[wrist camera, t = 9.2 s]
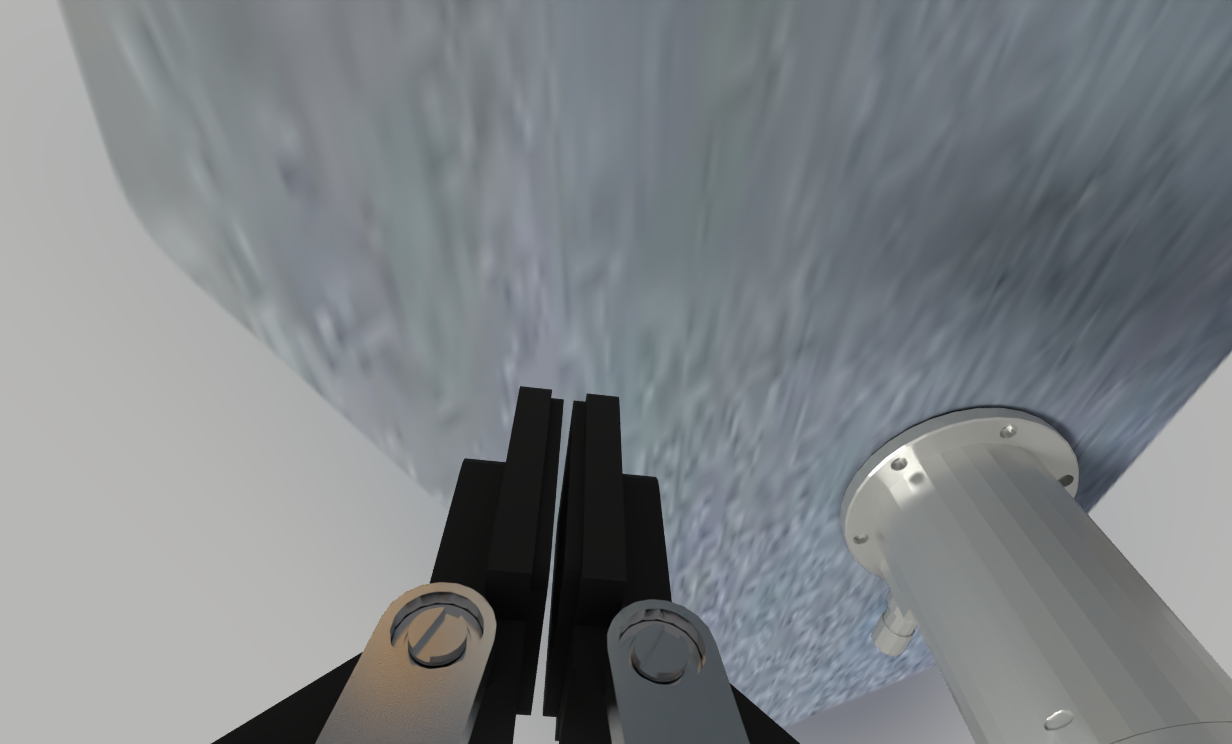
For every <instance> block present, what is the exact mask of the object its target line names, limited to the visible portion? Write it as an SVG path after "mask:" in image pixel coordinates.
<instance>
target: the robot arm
mask: <svg viewBox="0 0 1232 744" xmlns="http://www.w3.org/2000/svg"><path fill="white" fill-rule="evenodd" d="M551 394H552V390H550V389H541V388H532V387H522V386H520V389H519V395H518V400H517V406H516V411H515V416H514V422H513V427H512V433H511V438H510V443H509V449H508V454H507V460H506V462H497V461H486V460H476V459H466V458H465V459H464V461H463V463H462V466H461V470H460V473H459V477H458V481H457V484H456V488H455V492H454V496H453V499H452V503H451V507H450V510H449V514H448V518H447V521H446V525H445V529H444V533H443V536H442V540H441V544H440V548H439V551H438V555H437V558H436V562H435V566H434V569H433V573H432V577H431V581H430V584H426V585H421V586H419V587H416V588H414V589H412V590H410V591H407V592H405V593H404V594H403V595H401V596H400V597H399V598H397V599H396V600H395V601H393V602H392V603H391V604H390V606H389V607H388V608H387V610H386V611H385V612H384V614H383V615H382V617H381V619H380V620H379V622H378V624H377V626H376V628H375V630H374V632H373V634H372V636H371V638H370V640H369V642H368V643H367V645H366V647H365V649H364V651H363V652H362V653H360V654H358V655H357V656H355V657H353V658H352V659H350V660H348V661H347V662H345V663H343V664H342V665H340V666H339V667H337V668H335V669H334V670H332V671H330V672H329V673H327V674H325V675H324V676H322V677H320V678H319V679H317V680H315V681H314V682H312V683H311V684H309V685H307V686H306V687H304V688H302V689H301V690H299V691H297V692H296V693H294V694H292V695H291V696H289V697H288V698H286V699H284V700H282V701H281V702H279V703H278V704H276V705H274V706H273V707H271V708H269V709H268V710H266V711H264V712H263V713H261V714H260V715H258V716H256V717H254V718H253V719H251V720H249V721H248V722H246V723H245V724H243V725H241V726H240V727H238V728H236V729H235V730H233V731H231V732H230V733H228V734H226V735H225V736H223V737H221V738H220V739H218V740H216V741H215V742H213V743H212V744H513V736H514V727H515V718H516V714H519V715H531V710H532V703H533V695H534V687H535V680H536V673H537V665H538V657H539V650H540V642H541V635H542V627H543V619H544V612H545V604H546V597H547V589H548V581H549V571H550V561H551V550H552V537H553V525H554V513H555V501H556V488H557V476H558V464H559V452H560V439H561V427H562V415H563V403H564V399H554V398H551ZM1079 472H1080V471H1079V467H1078V462H1077V457H1076V455H1075V453H1074V452H1073V450H1072V448H1071V446H1070V445H1069V443H1068V442H1067V441H1066V440H1065V439H1064V438H1063V437H1062V436H1061V435H1060V434H1059V433H1058V432H1057V431H1056V429H1055V428H1053V427H1052V426H1051V425H1049V424H1048V423H1046V422H1045V421H1043V420H1042V419H1040V418H1038V417H1036V416H1033V415H1030V414H1028V413H1025V412H1023V411H1017V410H1011V409H1005V408H976V409H970V410H964V411H957V412H953V413H949V414H946V415H943V416H940V417H936V418H933V419H930V420H928V421H926V422H923V423H921V424H919V425H917V426H915V427H912V428H910V429H908V430H906V431H905V432H903V433H902V434H900V435H898V436H897V437H895V438H894V439H892V440H890V441H889V442H887V443H886V444H885V445H884V446H883V447H881V448H880V449H879V450H878V451H877V452H876V453H874V454H873V455H872V456H871V457H870V458H869V459H868V460H867V461H866V462H865V464H864V465H863V466H862V467H861V468H860V469H859V470H858V472H857V473H856V474H855V476H854V478H853V479H852V481H851V483H850V484H849V486H848V488H847V490H846V493H845V495H844V498H843V501H842V504H841V513H840V524H841V529H842V535H843V537H844V539H845V541H846V543H847V546H848V548H849V551H850V552H851V554H852V555H853V557H854V558H855V559H856V561H857V562H858V563H859V564H860V565H861V566H862V567H864V568H865V569H866V570H867V571H868V572H870V573H872V574H874V575H876V576H878V577H880V578H882V579H884V580H886V582H887V584H888V586H889V589H890V591H889V593H888V595H887V598H886V599H887V604H888V606H889V608H888V609H887V610H886V611H885V612H884V613H883V614H882V615H881V617H880V619H879V621H878V622H877V624H876V626H875V627H874V629H873V631H872V635H871V638H872V641H873V643H874V645H875V646H876V647H877V648H878V649H879V650H880V651H882V652H884V653H885V654H887V655H892V656H897V655H900V654H901V653H902V652H903V650H904V649H905V647H906V645H907V644H908V642H909V641H910V639H911V638H912V636H913V634H914V632H915V627H916V626H918V628H919V630H920V632H921V634H922V636H923V638H924V640H925V642H926V644H927V646H928V648H929V650H930V652H931V654H932V656H933V658H934V660H935V662H936V664H937V666H938V668H939V670H940V672H941V674H942V676H943V679H944V681H945V683H946V685H947V687H948V689H949V691H950V693H951V695H952V697H953V699H954V701H955V703H956V705H957V707H958V709H959V711H960V713H961V715H962V717H963V719H964V721H965V723H966V725H967V727H968V729H969V731H970V733H971V735H972V738H973V739H974V742H975V744H1232V679H1231V678H1230V677H1229V676H1228V675H1227V673H1226V672H1225V671H1224V670H1223V669H1222V668H1221V666H1220V665H1219V664H1218V663H1217V662H1216V661H1215V660H1214V658H1213V657H1212V656H1211V655H1210V654H1209V653H1208V652H1207V651H1206V649H1205V648H1204V647H1203V646H1202V645H1201V644H1200V643H1199V641H1198V640H1197V639H1196V638H1195V637H1194V636H1193V634H1192V633H1191V632H1190V631H1189V630H1188V629H1187V628H1186V627H1185V625H1184V624H1183V623H1182V622H1181V621H1180V620H1179V618H1178V617H1177V616H1176V615H1175V614H1174V613H1173V612H1172V610H1171V609H1170V608H1169V607H1168V606H1167V605H1166V604H1165V602H1164V601H1163V600H1162V599H1161V598H1160V597H1159V596H1158V594H1157V593H1156V592H1155V591H1154V590H1153V589H1152V587H1151V586H1150V585H1149V584H1148V583H1147V582H1146V581H1145V579H1144V578H1143V577H1142V576H1141V575H1140V574H1139V573H1138V572H1137V570H1136V569H1135V568H1134V567H1133V566H1132V565H1131V564H1130V562H1129V561H1128V560H1127V559H1126V558H1125V557H1124V555H1123V554H1122V553H1121V552H1120V551H1119V550H1118V549H1117V548H1116V546H1115V545H1114V544H1113V543H1112V542H1111V541H1110V539H1109V538H1108V537H1107V536H1106V535H1105V534H1104V533H1103V532H1102V530H1101V529H1100V528H1099V527H1098V526H1097V525H1096V524H1095V522H1094V521H1093V520H1092V519H1091V518H1090V517H1089V515H1088V514H1087V513H1086V512H1085V511H1084V510H1083V509H1082V507H1081V506H1080V505H1079V504H1078V503H1077V502H1076V501H1075V499H1074V498H1075V495H1076V492H1077V489H1078V484H1079ZM543 716H550V717H556V734H555V741H559V744H800V743H799V742H797V741H796V740H795V739H794V738H793V737H792V736H791V735H789V734H788V733H787V732H786V731H785V730H784V729H782V728H781V727H780V726H779V725H778V724H777V723H775V722H774V721H773V720H772V719H771V718H770V717H769V716H767V715H766V714H765V713H764V712H763V711H762V710H760V709H759V708H758V707H757V706H756V705H755V704H753V703H752V702H751V701H750V700H749V699H748V698H747V697H745V696H744V695H743V694H742V693H741V692H740V691H738V690H737V689H736V688H735V687H734V686H733V685H731V684H730V683H729V680H728V677H727V674H726V671H725V668H724V665H723V662H722V659H721V657H720V654H719V651H718V648H717V645H716V642H715V640H714V638H713V636H712V634H711V632H710V630H709V628H708V627H707V626H706V625H705V623H704V622H703V621H702V620H701V619H700V618H699V617H698V616H697V615H696V614H694V613H693V612H691V611H690V610H688V609H686V608H685V607H683V606H681V605H678V604H675V603H672V600H671V591H670V581H669V572H668V563H667V554H666V545H665V536H664V527H663V518H662V509H661V500H660V491H659V484H658V480H657V478H656V477H650V476H640V475H629V474H622V453H621V430H620V406H619V397H615V396H606V395H596V394H587V396H586V402H583V401H574V402H573V409H572V416H571V424H570V431H569V439H568V446H567V454H566V461H565V469H564V476H563V484H562V491H561V499H560V506H559V514H558V522H557V532H556V544H555V557H554V570H553V583H552V596H551V610H550V623H549V636H548V649H547V662H546V676H545V689H544V702H543Z"/></svg>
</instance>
